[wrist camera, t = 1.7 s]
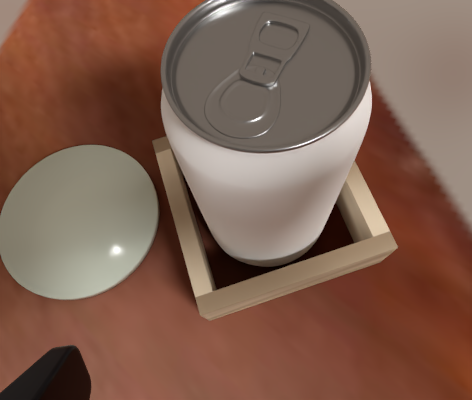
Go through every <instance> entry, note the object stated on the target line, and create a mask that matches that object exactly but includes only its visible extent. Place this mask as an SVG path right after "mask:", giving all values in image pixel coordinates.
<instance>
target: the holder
mask: <svg viewBox="0 0 472 400" xmlns="http://www.w3.org/2000/svg"><path fill="white" fill-rule="evenodd" d="M152 143H153V147H154V150H155V154H156V157H157V161H158V165H159V168H160V172H161V175H162V179H163V183H164V186H165V190H166V194H167V197H168V201H169V204H170V208H171V212H172V215H173V219H174V222H175V226H176V230H177V233H178V237H179V241H180V244H181V248H182V251H183V255H184V259H185V262H186V266H187V270H188V273H189V277H190V280H191V284H192V288H193V291H194V295H195V298H196V302H197V306H198V309H199V313H200V316H202V317H204V318H206V319H207V320H209V321H211V320H213V319H216V318H219V317H222V316H225V315H228V314H231V313H234V312H237V311H240V310H243V309H245V308H248V307H251V306H254V305H257V304H260V303H263V302H266V301H269V300H272V299H275V298H277V297H280V296H283V295H286V294H289V293H292V292H295V291H298V290H301V289H304V288H307V287H310V286H312V285H315V284H318V283H321V282H324V281H327V280H330V279H333V278H336V277H339V276H342V275H344V274H347V273H350V272H353V271H356V270H359V269H362V268H365V267H368V266H371V265H374V264H377V263H379V262H381V261H382V260H383V259H385V258H386V257H387V256H388V255H390V254H391V253H392V252H393V251H395V250H396V249H397V248H398V246H397V244H396V242H395V240H394V238H393V236H392V234H391V232H390V230H389V228H388V226H387V224H386V222H385V220H384V218H383V216H382V214H381V212H380V210H379V208H378V206H377V204H376V202H375V200H374V198H373V196H372V194H371V192H370V190H369V188H368V186H367V184H366V182H365V180H364V178H363V176H362V174H361V172H360V170H359V168H358V166H357V164H356V162H355V160H354V162H353V164H352V166H351V169H350V171H349V173H348V175H347V178H346V180H345V182H344V184H343V187H342V189H341V191H340V193H339V195H338V198H337V200H336V204H337V206H338V209H339V211H340V213H341V215H342V217H343V219H344V222H345V224H346V226H347V228H348V230H349V233H350V235H351V237H352V239H353V241H354V244H351V245H348V246H345V247H342V248H339V249H336V250H333V251H330V252H327V253H324V254H322V255H319V256H316V257H313V258H310V259H307V260H304V261H301V262H298V263H295V264H292V265H289V266H286V267H283V268H280V269H277V270H274V271H271V272H269V273H266V274H263V275H260V276H257V277H254V278H251V279H248V280H245V281H242V282H239V283H236V284H233V285H230V286H227V287H224V288H221V289H219V290H217V288H216V285H215V281H214V278H213V275H212V271H211V268H210V265H209V261H208V258H207V255H206V251H205V248H204V245H203V241H202V238H201V235H200V231H199V228H198V225H197V221H196V218H195V215H194V211H193V208H192V205H191V201H190V198H189V195H188V191H187V188H186V185H185V181H184V178H183V175H182V174H183V172H182V170H181V168H180V166H179V163H178V161H177V159H176V157H175V154H174V152H173V150H172V148H171V145H170V143H169V140H168V138H167V136H165V137H162V138H159V139H156V140H152Z"/></svg>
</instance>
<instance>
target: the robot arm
mask: <svg viewBox="0 0 472 400" xmlns="http://www.w3.org/2000/svg"><path fill="white" fill-rule="evenodd" d="M90 393H91V379H90V375H89V373H88V370H87V368H86V366H85V363H84V361H83V358H82V356H81V353H80V351H79V349H78V348H77V347H76V346H74V345H68V346H62V347H56V348H53V349H51V350H49V351H48V352H47V353H46V354H45V355H43V356H42V357H41V358H40V359H39V360H38V361H37V362H35V363H34V364H33V365H32V366H31V367H30V368H28V369H27V370H26V371H25V372H24V373H23V374H22V375H20V376H19V377H18V378H17V379H16V380H15V381H14V382H12V383H11V384H10V385H9V386H8V387H7V388H5V389H4V390H3V391H2V392H1V393H0V400H89V399H90Z"/></svg>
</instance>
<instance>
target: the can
mask: <svg viewBox="0 0 472 400" xmlns="http://www.w3.org/2000/svg"><path fill="white" fill-rule="evenodd" d="M370 74H371V56H370V50H369V46H368V43H367V40H366V38H365V36H364V34H363V32H362V30H361V28H360V27H359V25H358V24H357V22H356V21H355V20H354V18H353V17H352V16H351V15H350V14H349V13H348V12H347V11H346V10H345V9H343V8H342V7H341V6H340V5H338V4H337V3H336V2H334V1H333V0H205V1H204V2H202V3H201V4H199V5H198V6H196V7H195V8H194V9H193V10H191V11H190V12H189V13H188V14H187V15H186V16H185V17H184V18H183V19H182V20H181V21H180V22H179V24H178V25H177V26H176V27H175V29H174V30H173V32H172V34H171V35H170V37H169V39H168V41H167V43H166V46H165V49H164V52H163V56H162V61H161V81H162V87H163V89H162V96H161V114H162V120H163V124H164V128H165V132H166V135H167V138H168V140H169V143H170V145H171V148H172V150H173V152H174V154H175V157H176V159H177V161H178V163H179V166H180V168H181V170H182V172H183V174H184V176H185V179H186V181H187V183H188V185H189V187H190V189H191V192H192V194H193V196H194V198H195V200H196V202H197V204H198V207H199V209H200V211H201V213H202V215H203V217H204V219H205V221H206V223H207V226H208V228H209V230H210V232H211V233H212V235H213V237H214V239H215V240H216V242H217V243H218V244H219V246H220V247H221V248H222V249H223V250H224V251H225V252H226V253H227V254H228V255H229V256H231V257H233V258H234V259H236V260H238V261H241V262H243V263H246V264H250V265H255V266H261V267H274V266H280V265H284V264H287V263H289V262H292V261H294V260H296V259H298V258H299V257H301V256H302V255H304V254H305V253H306V252H307V251H308V250H309V249H310V248H311V247H312V246H313V245H314V243H315V242H316V241H317V239H318V238H319V236H320V234H321V232H322V230H323V228H324V226H325V224H326V222H327V220H328V217H329V215H330V213H331V211H332V209H333V206H334V204H335V202H336V200H337V198H338V195H339V193H340V191H341V189H342V187H343V184H344V182H345V180H346V178H347V175H348V173H349V171H350V169H351V166H352V164H353V162H354V160H355V157H356V155H357V153H358V150H359V148H360V146H361V143H362V141H363V138H364V135H365V133H366V130H367V127H368V123H369V119H370V114H371V107H372V94H371V87H370V81H369V80H370Z"/></svg>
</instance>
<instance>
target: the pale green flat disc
mask: <svg viewBox="0 0 472 400" xmlns="http://www.w3.org/2000/svg"><path fill="white" fill-rule="evenodd" d="M159 216H160V208H159V200H158V195H157V192H156V189H155V186H154V184H153V182H152V180H151V178H150V177H149V175H148V174H147V173H146V171H145V170H144V168H143V167H142V166H141V165H140V164H139V163H138V162H137V161H136V160H135V159H133V158H132V157H131V156H129V155H128V154H126V153H124V152H122V151H120V150H117V149H115V148H112V147H107V146H102V145H81V146H75V147H71V148H67V149H64V150H61V151H58V152H56V153H54V154H52V155H50V156H48V157H46V158H44V159H43V160H41V161H40V162H38V163H37V164H36V165H34V166H33V167H32V168H30V169H29V170H28V171H27V172H26V173H25V174H24V175H23V176H22V177H21V178H20V180H19V181H18V182H17V183H16V185H15V186H14V187H13V189H12V190H11V192H10V194H9V196H8V197H7V199H6V201H5V204H4V206H3V209H2V211H1V215H0V255H1V258H2V261H3V263H4V265H5V267H6V269H7V270H8V272H9V273H10V275H11V276H12V277H13V278H14V279H15V280H16V281H17V282H18V283H19V284H20V285H22V286H23V287H24V288H26V289H27V290H29V291H31V292H33V293H35V294H38V295H41V296H44V297H48V298H52V299H58V300H79V299H86V298H89V297H93V296H96V295H99V294H101V293H104V292H106V291H108V290H110V289H112V288H113V287H115V286H117V285H118V284H120V283H121V282H122V281H124V280H125V279H126V278H127V277H129V276H130V275H131V274H132V273H133V272H134V271H135V270H136V269H137V267H138V266H139V265H140V264H141V263H142V261H143V260H144V258H145V257H146V255H147V254H148V252H149V250H150V248H151V246H152V244H153V242H154V239H155V237H156V234H157V229H158V225H159Z"/></svg>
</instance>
